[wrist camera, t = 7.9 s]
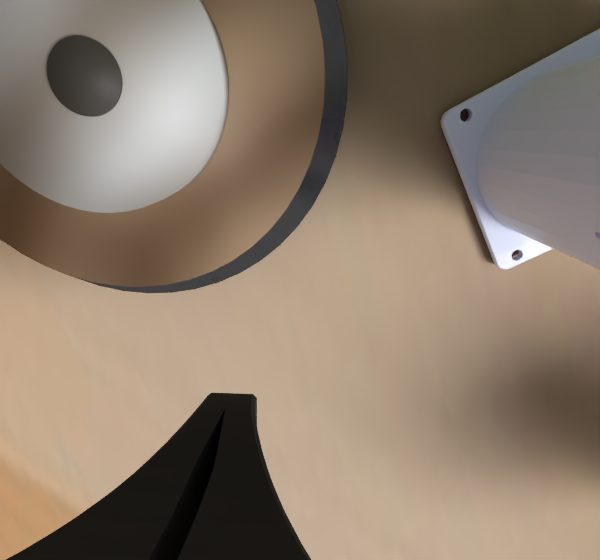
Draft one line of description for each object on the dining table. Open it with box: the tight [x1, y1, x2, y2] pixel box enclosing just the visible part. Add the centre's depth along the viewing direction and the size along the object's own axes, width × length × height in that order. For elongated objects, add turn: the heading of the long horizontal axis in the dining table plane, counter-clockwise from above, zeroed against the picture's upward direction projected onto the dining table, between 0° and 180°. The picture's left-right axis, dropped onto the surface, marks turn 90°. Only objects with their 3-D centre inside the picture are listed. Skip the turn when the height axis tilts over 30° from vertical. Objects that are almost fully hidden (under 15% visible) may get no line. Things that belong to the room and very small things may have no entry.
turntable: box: [0, 0, 325, 287], centre depth 14 cm, size 16×16×4 cm
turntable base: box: [75, 0, 347, 293], centre depth 17 cm, size 18×18×1 cm
